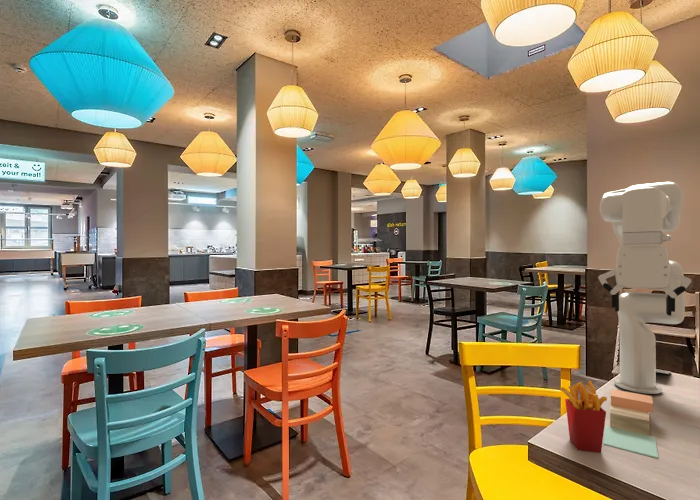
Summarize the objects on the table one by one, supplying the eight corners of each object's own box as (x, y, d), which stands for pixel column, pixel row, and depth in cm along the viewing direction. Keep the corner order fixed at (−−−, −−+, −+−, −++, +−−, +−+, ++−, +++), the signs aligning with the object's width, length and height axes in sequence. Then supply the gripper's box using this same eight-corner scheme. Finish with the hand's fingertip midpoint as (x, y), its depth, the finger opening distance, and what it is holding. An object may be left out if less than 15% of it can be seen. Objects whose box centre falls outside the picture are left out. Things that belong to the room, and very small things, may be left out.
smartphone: (640, 368, 134) (640, 366, 134) (647, 369, 145) (647, 367, 145) (665, 373, 129) (666, 370, 129) (671, 374, 139) (671, 371, 140)
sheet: (611, 406, 110) (611, 393, 110) (646, 413, 105) (646, 399, 105) (610, 428, 97) (610, 412, 97) (649, 437, 92) (649, 420, 92)
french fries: (607, 455, 84) (607, 389, 84) (567, 452, 86) (567, 386, 86) (590, 436, 93) (590, 376, 93) (554, 433, 94) (554, 374, 94)
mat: (605, 426, 97) (605, 425, 97) (654, 438, 92) (654, 437, 92) (603, 444, 89) (603, 443, 89) (658, 458, 83) (658, 457, 83)
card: (611, 397, 107) (611, 388, 107) (651, 405, 101) (651, 396, 101) (610, 404, 102) (610, 395, 102) (653, 413, 96) (653, 403, 96)
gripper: (688, 240, 86) (689, 314, 86) (598, 241, 96) (599, 307, 96) (693, 239, 80) (693, 319, 80) (597, 240, 90) (597, 311, 90)
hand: (642, 312), depth 88 cm, fingers open, 9 cm apart
